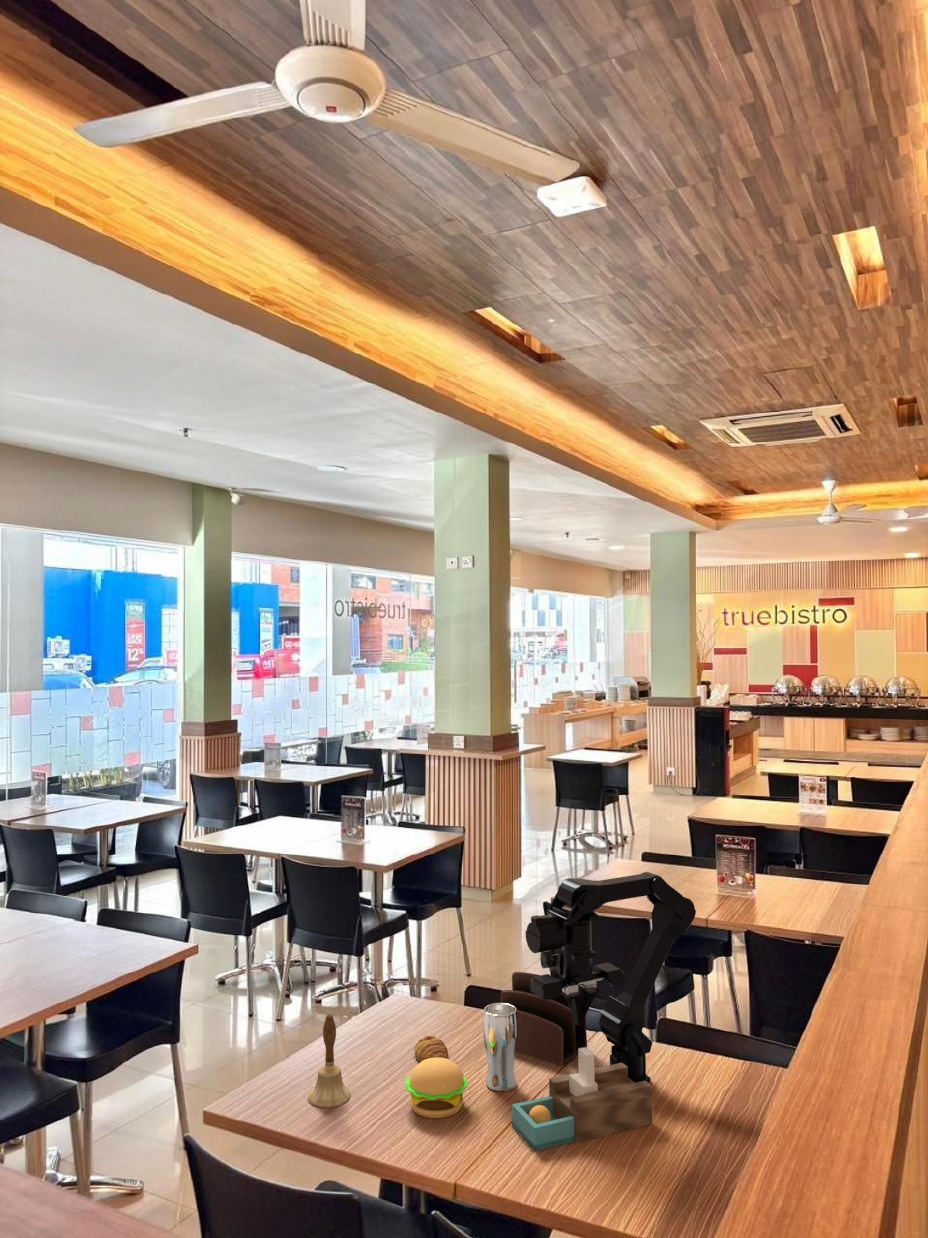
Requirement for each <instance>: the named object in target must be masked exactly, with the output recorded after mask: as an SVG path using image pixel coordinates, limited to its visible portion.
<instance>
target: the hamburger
mask: <svg viewBox="0 0 928 1238" xmlns="http://www.w3.org/2000/svg"><path fill="white" fill-rule="evenodd" d="M468 1086H469V1081H468V1078H466V1077H465V1075H464V1073H463V1072H462V1070H461V1068H460V1066H459V1065H458V1064H456V1062H454V1061H453V1060H451V1059H449V1058H448V1059H446V1058H429V1059H425V1060H423V1061H422V1062H419V1063H418V1064H417V1065H415V1067H414V1068H413V1069H412V1071H411V1073H410V1075H408V1077H407V1079H406V1082H405V1089H406V1091H407V1092H408V1093H410V1101H409V1102H410V1107H411V1108H412V1110H413V1111H414V1112H415V1113H416V1114H417V1115H419V1116H421V1117H423V1118H427V1119H444V1118H448V1117H452V1116H454V1115H455V1114H457V1113H458V1112H460V1110H461V1108H462V1106H463V1105H464V1097H463V1093H464V1091H465V1090H466V1089H467V1088H468Z"/></svg>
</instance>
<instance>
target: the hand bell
mask: <svg viewBox="0 0 928 1238" xmlns="http://www.w3.org/2000/svg"><path fill="white" fill-rule="evenodd" d="M322 1039H323V1043H324V1045H325V1059H324V1060H325V1062H324V1063H325V1064H324V1066H321V1067H319V1068H318V1071H317V1078H316V1083H315V1086H314V1088H313V1089H312V1090H311V1091H310V1092H309V1094H308V1096H307V1100H308V1102H309V1103H310V1104H311V1105H312V1106H314V1107H318V1108H322V1109H323V1108H327V1109H329V1108H336V1107H338V1106H339V1107H340V1106H342V1105H344V1104H346V1103H347V1102H348V1101H350V1099H351V1097H352V1094H351V1092H350V1090H349V1088H347V1087H346V1086H345V1084H344V1081H343V1077H342V1076H343V1075H342V1070H341V1067H340V1066H339V1065H336V1064H335V1057H334V1056H335V1054H334V1051H335V1050H334V1049H335V1048H334V1047H335V1042H336V1039H337V1026H336V1022H335V1020H334V1016H333V1014H332V1013H331V1014H327V1015H326V1016H325V1021H324V1024H323V1027H322Z"/></svg>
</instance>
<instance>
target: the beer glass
mask: <svg viewBox="0 0 928 1238" xmlns="http://www.w3.org/2000/svg"><path fill="white" fill-rule="evenodd" d="M483 1010H484V1012H483V1030H482V1032H483V1042H484V1043H483V1044H484V1048H485V1049H484V1050H485V1055H486V1059H487V1075H486V1080H485V1084H487V1086H488V1087H489V1088H490V1089H489V1088H488V1087H487V1086H486V1087H487V1088H488V1089H489V1090H491V1089H492V1091H494V1090H495V1091H494V1092H499V1091H504V1092H508V1091H512V1090H513V1089H515V1088H516V1086H517V1080H516V1074H515V1058H516V1053H517V1051H516V1047H517V1039H518V1023H517V1011H516V1010H517V1009H516V1007H515V1006H513V1005H511V1004H507V1003H501V1002H494V1003H491V1004H487V1005H486V1006H485V1007H484V1008H483Z"/></svg>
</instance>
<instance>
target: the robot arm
mask: <svg viewBox="0 0 928 1238" xmlns="http://www.w3.org/2000/svg"><path fill="white" fill-rule="evenodd" d="M645 896H646V898H647V900H648V901H649V903H650V904H652V906H653V908H652V910H651V915H650V916H651V917H650V918H651V931H650V932H649V934H648V936H647V939H646V940H645V943H644V945H643V948H642V949H641V951H640V954H639V956H638V958H637V960H636V962H635V964H634V966H633V969H632V970H631V973H630V974H629V977H628V979H627V982H626V983H625V974H624V972H623V970H622V969H621V968H619V967H617V966H615V965H613V964H612V963H610V962H604V963H600V964H594V965H593V959H595V958H596V951H594V950H592V949H593V948H592V923H593V922H599V921H601V919H602V917H601V916H600V915H598V914H597V913H596V912H595V911H596V910H599V909H600V908H602V906H603V905H605V904H607V903H612V902H616V901H617V902H618V901H623V900H629V899H630V900H631V899H634V898H640V897H645ZM548 906H549V907H548V908H547V910H546V914H544V915H531V917H530V922H529V923H528V924H527V926H526V930H525V933H524V935H525V941H526V945H527V946H528V949H529V950H530V951H531V952H532V953H533V954H537V953H538V954H539V953H540V958H539V959H540V964H541V965H540V966H541V968H542V969H548V970H549V972H550V973H552V972H555V971H556V974H557V975H560V976H562V977H560V978H559V977H558V978H556V977H554V976H552V975H551V974H549V973H545V974H539V975H540V976H535V977H533V978H532V980H531V982H530V988H531V991H532V992H533V993H535V994H536V995H538V996H539V997H541V998H542V999H544V1000H549V999H554V998H559V997H560V995H561V994H562V995H564V996H565V998H566V1000H567V1002H568V1005H569V1007H570V1010H571V1013H572V1016H573V1018H574V1021H575V1024H577V1025H581V1024H582V1022H583V1020H584V1018H585V1016H586V1017H587V1014H588V1011H589V1009H590V1007H591V1005H592V1004H593V1001H594V1000H595V998H596V997H597V995H599V994H600V993H601V989H599V988H597V982H602V981H603V982H604V981H607V984H609V985H610V987H612V988H614V987H617V986H618V987H619V986H622V985H625V986H624V988H623V990H622V992H620V994H618V995H617V996H616V997H613V996H611V995H608V997H607V998H606V1001H605V1003H604V1006H603V1008H602V1010H601V1011H600V1012H599V1015H600V1017H599V1020H598V1021H599V1023H598V1025H599V1026H600V1031H601V1032H602V1034H603V1035H605V1038H606V1041H607V1042H609V1043H611V1044H612V1045H611V1053H610V1055H609V1065H613V1064H618V1063H623V1064H624V1065H626V1066H627V1067H628V1078H629V1079H630V1080H632V1081H633V1082H634V1083H637V1082H641V1081H647V1082H648V1083H649V1082H650V1081H651V1077H650V1076H648V1074H647V1066H646V1065H647V1058H646V1055H647V1054H649V1053H650V1052H651V1049H652V1047H653V1041H652V1040H651V1039H650V1038H649V1037H648V1036H647V1035H646V1034H645V1033H644V1032H643V1029H644V1025H645V1022H646V1021H645V1005H646V1002H647V1000H648V998H649V996H650V993H651V991H652V989H653V987H654V985H655V982H656V981H657V979H658V976H659V974H660V971H661V969H662V968H663V965H664V963H665V960H666V958H667V957H668V955H669V952H670V950H671V948H672V946H673V943H674V942H675V940H677V939H678V938H680V936H682V935H683V934H685V933H686V932H687V931H688V929H689V928H690V926H691V925H692V923H693V921H694V919H695V916H696V914H697V910H696V907H695V903H694V902H693V900H692V899H690V898H688V897H685V896H684V895H682V893H680V892H679V891H678V890H676V889H675V888H673V886H671V885H670V884H668V882H667V881H665V879H664V878H663V877H662V876H660V875H657V874H656V873H653V872H649V871H644V872H642V873H638V874H633V875H632V874H631V875H625V876H620V877H614V878H607V879H600V880H594V879H586V878H577V877H576V878H574V877H573V878H572V877H568V878H565V879H563V880H562V881H561V883H560V885H559V886H558V888H557V892H556V894H555V895H554V897H553V899H552V901H551V903H550V904H549V905H548ZM564 907H565V908H567V909H569V910H570V911H569V910H566V909H564ZM556 950H558V953H556V954H553V951H556Z"/></svg>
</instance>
